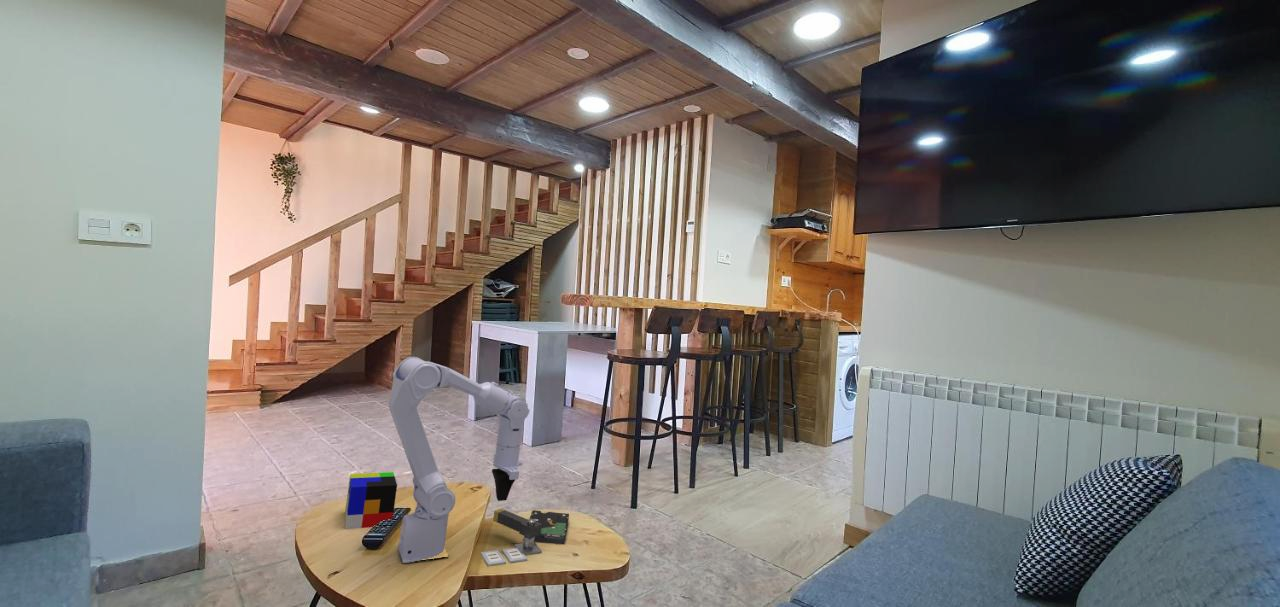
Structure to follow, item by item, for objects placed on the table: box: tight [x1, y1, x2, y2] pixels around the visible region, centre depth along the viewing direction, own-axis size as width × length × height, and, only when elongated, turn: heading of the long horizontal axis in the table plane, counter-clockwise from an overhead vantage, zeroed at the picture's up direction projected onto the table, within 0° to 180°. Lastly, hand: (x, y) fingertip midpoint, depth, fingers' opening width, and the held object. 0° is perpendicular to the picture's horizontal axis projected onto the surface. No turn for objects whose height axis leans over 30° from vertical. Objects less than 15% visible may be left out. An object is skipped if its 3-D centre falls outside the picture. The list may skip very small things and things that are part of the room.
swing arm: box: [492, 508, 542, 538], centre depth 128 cm, size 13×4×2 cm, turn 58°
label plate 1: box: [480, 549, 507, 567], centre depth 119 cm, size 4×6×1 cm, turn 32°
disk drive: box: [529, 509, 570, 546], centre depth 137 cm, size 10×3×15 cm
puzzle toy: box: [344, 471, 398, 530], centre depth 131 cm, size 10×10×10 cm
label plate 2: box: [501, 547, 528, 564], centre depth 122 cm, size 4×6×1 cm, turn 32°
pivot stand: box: [513, 518, 543, 556], centre depth 125 cm, size 5×5×7 cm
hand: (501, 499), depth 129 cm, fingers closed
